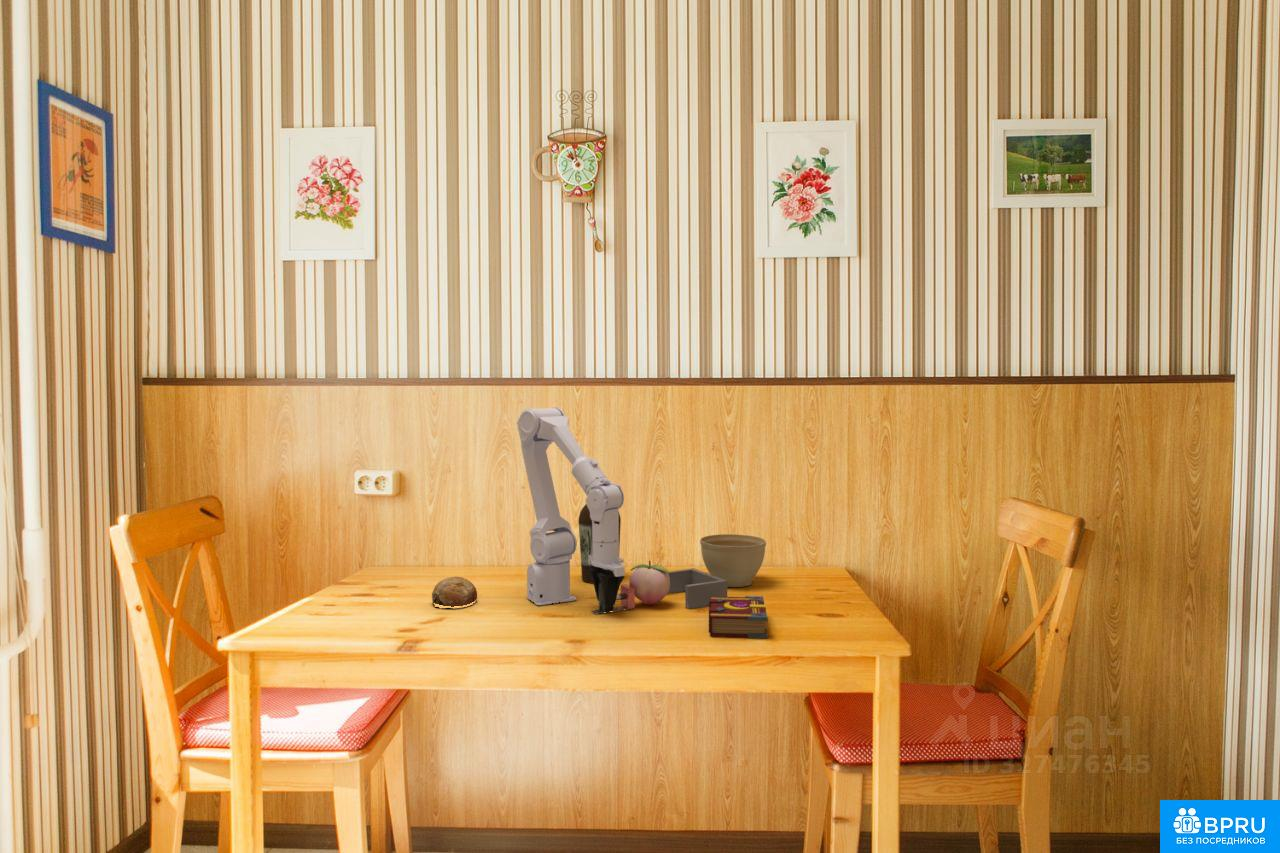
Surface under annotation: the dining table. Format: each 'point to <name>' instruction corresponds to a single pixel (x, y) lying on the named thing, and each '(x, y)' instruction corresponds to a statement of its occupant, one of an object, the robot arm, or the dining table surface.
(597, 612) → the rail strip
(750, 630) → the decorative book
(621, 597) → the kicker rod
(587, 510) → the olive oil
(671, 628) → the dining table surface
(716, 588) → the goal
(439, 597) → the bread roll
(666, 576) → the decorative fruit
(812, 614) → the dining table surface
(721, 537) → the planter bowl
